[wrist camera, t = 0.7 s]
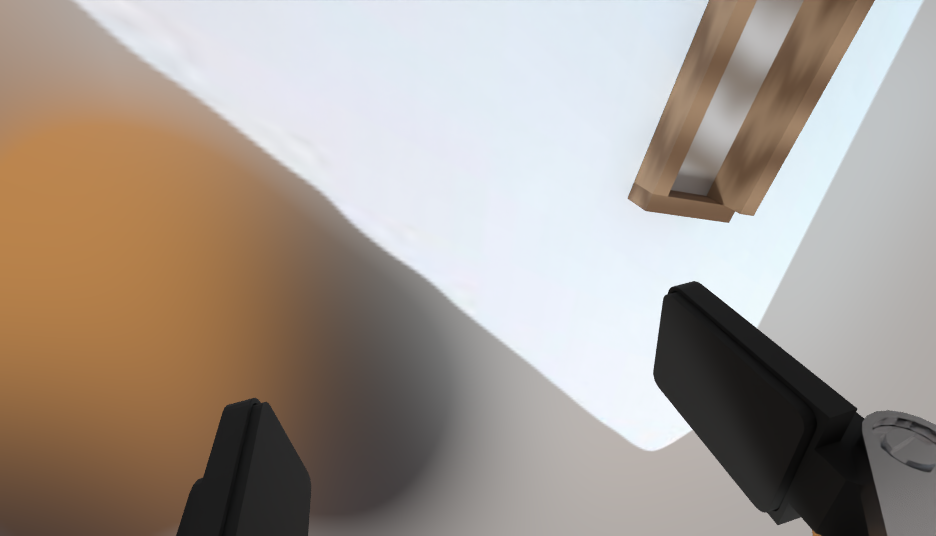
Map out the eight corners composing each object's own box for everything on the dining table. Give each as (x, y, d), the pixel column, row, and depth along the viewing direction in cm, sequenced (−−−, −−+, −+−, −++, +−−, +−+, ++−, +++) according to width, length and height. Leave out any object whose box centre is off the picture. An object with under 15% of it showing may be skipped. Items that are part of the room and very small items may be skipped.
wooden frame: (768, -145, 30) (836, -169, 26) (863, -98, 33) (937, -112, 29) (627, 198, 42) (658, 220, 38) (707, 210, 45) (744, 231, 41)
